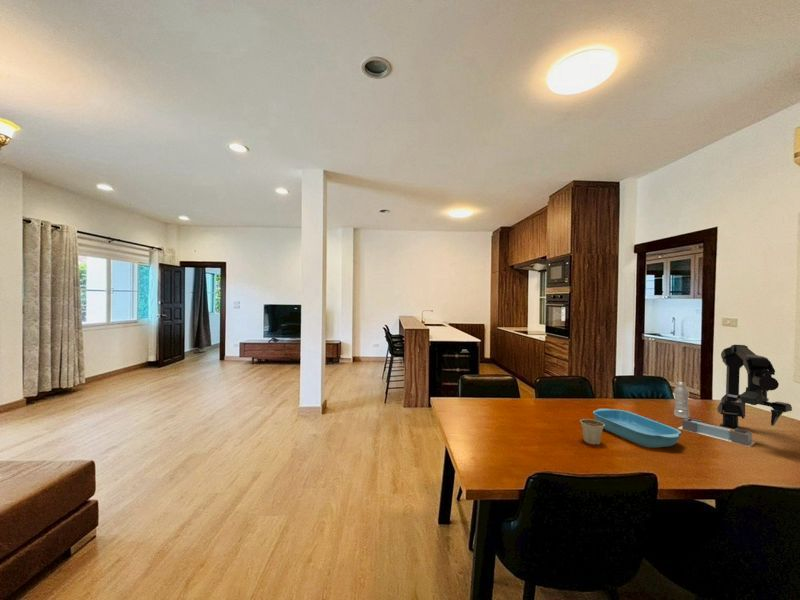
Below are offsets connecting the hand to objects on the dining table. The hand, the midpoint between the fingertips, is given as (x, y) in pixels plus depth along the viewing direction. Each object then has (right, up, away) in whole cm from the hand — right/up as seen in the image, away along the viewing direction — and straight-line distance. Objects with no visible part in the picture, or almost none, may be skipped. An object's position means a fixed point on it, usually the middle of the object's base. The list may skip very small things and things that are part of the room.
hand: (757, 421), depth 141 cm
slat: (-8, -11, +13) cm, 19 cm away
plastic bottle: (-1, -12, +37) cm, 39 cm away
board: (-7, -12, +12) cm, 18 cm away
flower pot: (-70, -10, +3) cm, 71 cm away
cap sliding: (-3, -11, +4) cm, 12 cm away
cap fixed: (-12, -11, +18) cm, 25 cm away
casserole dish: (-45, -11, +13) cm, 48 cm away
